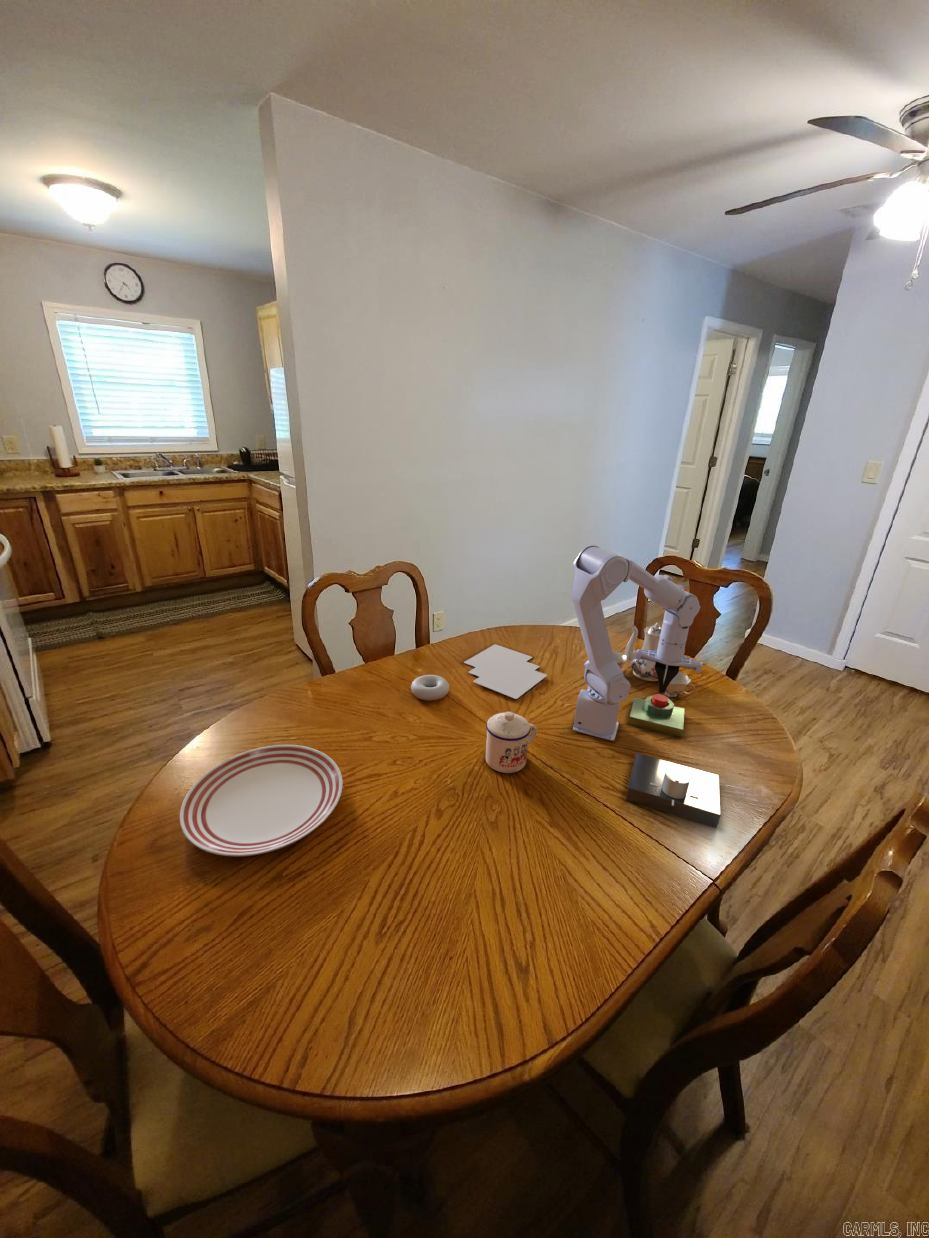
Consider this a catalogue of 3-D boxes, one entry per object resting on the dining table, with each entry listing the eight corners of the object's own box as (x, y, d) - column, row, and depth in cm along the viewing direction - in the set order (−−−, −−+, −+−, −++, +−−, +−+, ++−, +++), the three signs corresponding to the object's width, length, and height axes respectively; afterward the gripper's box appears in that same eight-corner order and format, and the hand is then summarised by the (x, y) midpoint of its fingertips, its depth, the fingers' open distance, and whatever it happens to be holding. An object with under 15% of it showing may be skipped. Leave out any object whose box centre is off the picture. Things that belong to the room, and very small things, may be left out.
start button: (650, 705, 122) (652, 699, 121) (652, 698, 125) (653, 692, 124) (666, 709, 120) (667, 702, 120) (667, 701, 123) (668, 695, 123)
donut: (434, 707, 124) (456, 690, 132) (434, 696, 123) (456, 679, 131) (403, 695, 129) (426, 679, 137) (402, 684, 128) (426, 668, 136)
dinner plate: (338, 857, 82) (337, 841, 80) (156, 876, 77) (151, 860, 76) (347, 752, 107) (346, 739, 105) (209, 762, 102) (207, 749, 101)
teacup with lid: (499, 780, 100) (503, 731, 96) (476, 754, 107) (478, 708, 103) (546, 762, 106) (552, 715, 101) (521, 739, 113) (525, 694, 109)
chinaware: (585, 678, 144) (590, 627, 136) (606, 653, 156) (612, 605, 148) (688, 711, 129) (700, 656, 122) (702, 680, 141) (714, 628, 134)
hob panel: (624, 804, 95) (627, 791, 94) (633, 763, 106) (635, 751, 105) (717, 833, 89) (721, 819, 88) (715, 786, 100) (719, 774, 99)
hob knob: (662, 779, 97) (666, 763, 96) (686, 786, 96) (690, 770, 94) (660, 794, 94) (664, 777, 92) (686, 801, 92) (690, 784, 90)
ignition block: (628, 724, 120) (630, 709, 119) (633, 703, 129) (635, 690, 127) (681, 737, 116) (684, 723, 114) (683, 715, 124) (686, 701, 123)
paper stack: (445, 672, 141) (445, 670, 140) (494, 644, 159) (495, 642, 159) (516, 701, 128) (516, 699, 128) (561, 666, 146) (561, 664, 146)
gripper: (706, 639, 117) (694, 690, 122) (642, 627, 122) (632, 676, 127) (706, 651, 111) (693, 704, 116) (638, 638, 116) (629, 689, 121)
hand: (661, 690), depth 121 cm, fingers closed
